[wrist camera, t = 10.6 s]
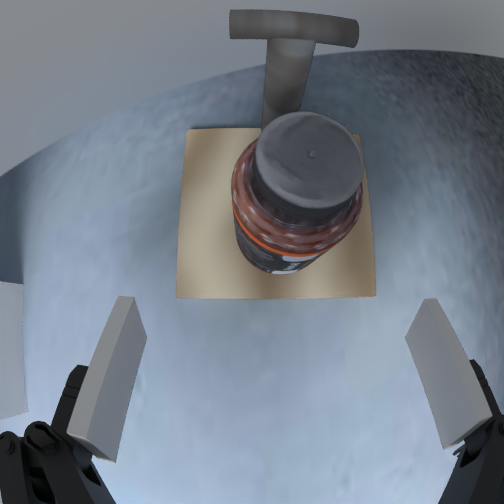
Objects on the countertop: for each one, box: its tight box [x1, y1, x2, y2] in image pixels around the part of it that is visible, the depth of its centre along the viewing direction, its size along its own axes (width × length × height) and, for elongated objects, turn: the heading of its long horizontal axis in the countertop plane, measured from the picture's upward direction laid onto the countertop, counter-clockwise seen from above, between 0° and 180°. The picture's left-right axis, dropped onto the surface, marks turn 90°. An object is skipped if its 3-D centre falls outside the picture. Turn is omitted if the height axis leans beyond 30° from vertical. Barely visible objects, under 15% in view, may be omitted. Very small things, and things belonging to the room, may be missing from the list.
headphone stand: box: [176, 10, 376, 299], centre depth 16 cm, size 14×13×13 cm
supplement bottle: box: [231, 111, 365, 275], centre depth 16 cm, size 6×6×11 cm
